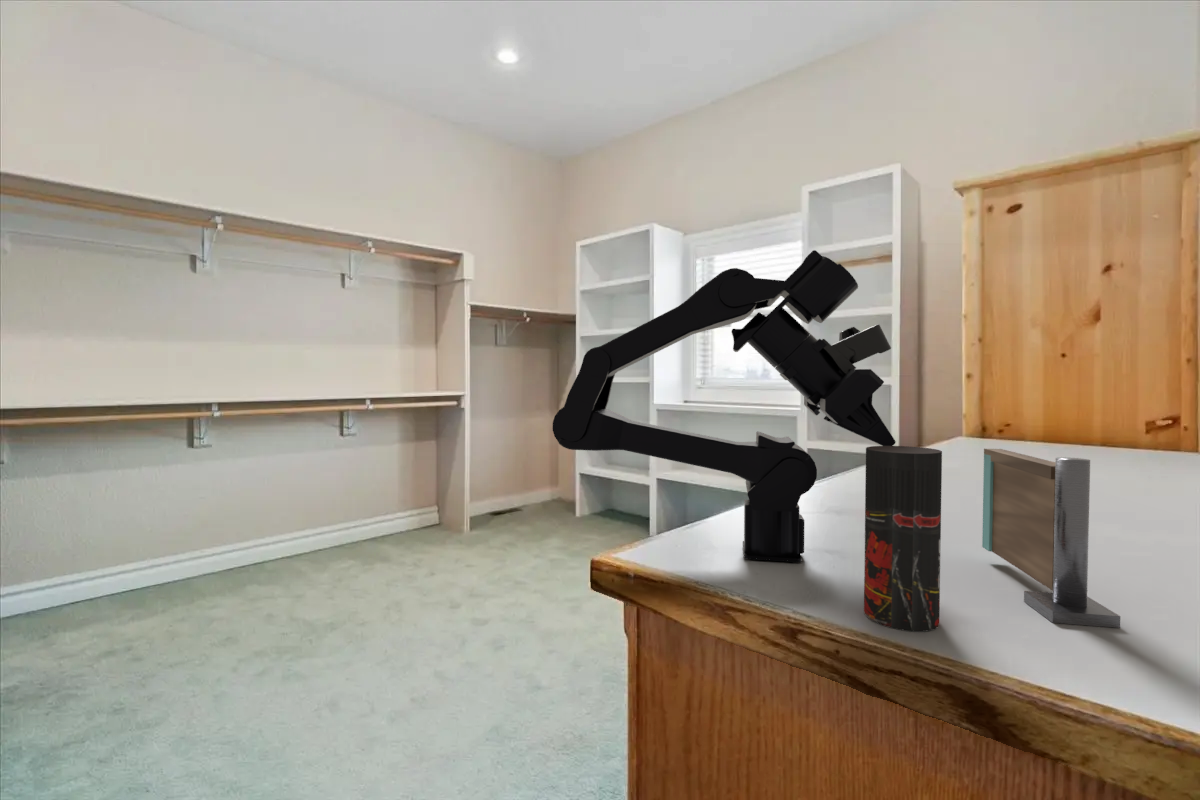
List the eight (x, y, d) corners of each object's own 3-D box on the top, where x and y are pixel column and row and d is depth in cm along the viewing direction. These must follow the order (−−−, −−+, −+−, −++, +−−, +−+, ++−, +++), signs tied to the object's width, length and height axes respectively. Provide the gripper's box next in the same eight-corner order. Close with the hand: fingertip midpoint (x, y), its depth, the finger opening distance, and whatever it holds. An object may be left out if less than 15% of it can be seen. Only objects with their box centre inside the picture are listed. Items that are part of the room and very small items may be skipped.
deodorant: (950, 634, 48) (953, 454, 47) (873, 628, 49) (875, 452, 48) (925, 606, 54) (927, 446, 53) (857, 602, 55) (858, 445, 54)
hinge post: (1052, 622, 50) (1056, 462, 49) (1023, 601, 55) (1026, 454, 54) (1120, 627, 49) (1124, 463, 48) (1084, 605, 54) (1088, 456, 53)
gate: (1048, 590, 53) (1051, 466, 53) (982, 546, 68) (983, 448, 67) (1070, 591, 53) (1073, 466, 53) (999, 547, 67) (1001, 449, 67)
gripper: (861, 289, 58) (982, 398, 56) (830, 311, 76) (920, 394, 74) (780, 368, 60) (893, 476, 58) (768, 371, 78) (854, 453, 76)
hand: (891, 445), depth 67 cm, fingers closed
